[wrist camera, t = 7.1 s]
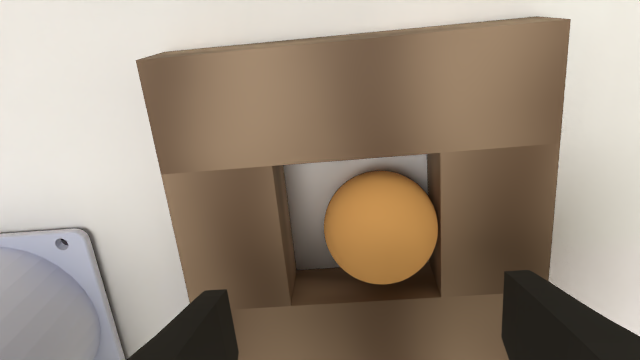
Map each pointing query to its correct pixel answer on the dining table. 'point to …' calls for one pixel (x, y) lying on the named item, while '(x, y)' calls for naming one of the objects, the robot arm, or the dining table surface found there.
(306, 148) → the brown square frame
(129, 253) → the dining table surface
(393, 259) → the ball
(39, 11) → the dining table surface
